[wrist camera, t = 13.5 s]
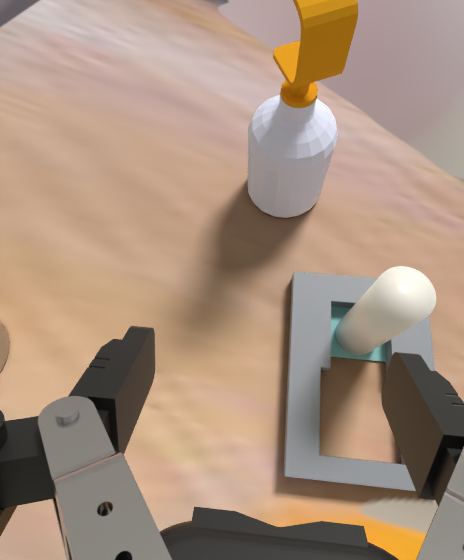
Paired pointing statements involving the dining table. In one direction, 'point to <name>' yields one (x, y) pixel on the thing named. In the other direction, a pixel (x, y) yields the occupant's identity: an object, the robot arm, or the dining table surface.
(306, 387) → the rectangular recess board
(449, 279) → the dining table surface
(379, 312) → the cream rounded cylinder
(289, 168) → the soap bottle
